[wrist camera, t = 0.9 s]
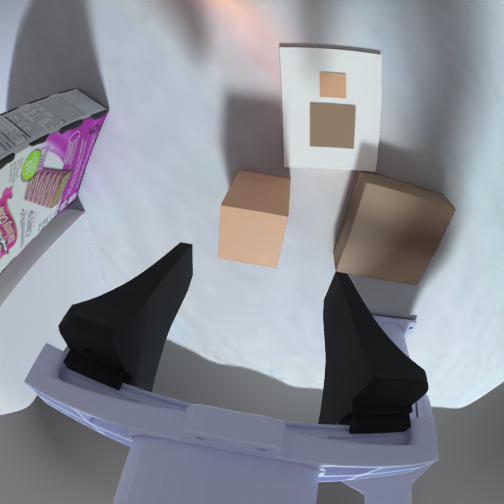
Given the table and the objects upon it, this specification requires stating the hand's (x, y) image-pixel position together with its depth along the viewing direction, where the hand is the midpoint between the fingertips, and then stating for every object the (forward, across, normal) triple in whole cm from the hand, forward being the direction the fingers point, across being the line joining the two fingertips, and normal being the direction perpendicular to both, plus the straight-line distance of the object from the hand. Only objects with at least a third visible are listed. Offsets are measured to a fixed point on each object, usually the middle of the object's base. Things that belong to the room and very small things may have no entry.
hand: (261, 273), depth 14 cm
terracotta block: (+10, +1, +1) cm, 10 cm away
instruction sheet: (+10, -3, -7) cm, 13 cm away
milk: (+10, +25, +11) cm, 29 cm away
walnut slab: (+10, -10, +1) cm, 14 cm away
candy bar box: (+10, +19, -2) cm, 22 cm away
